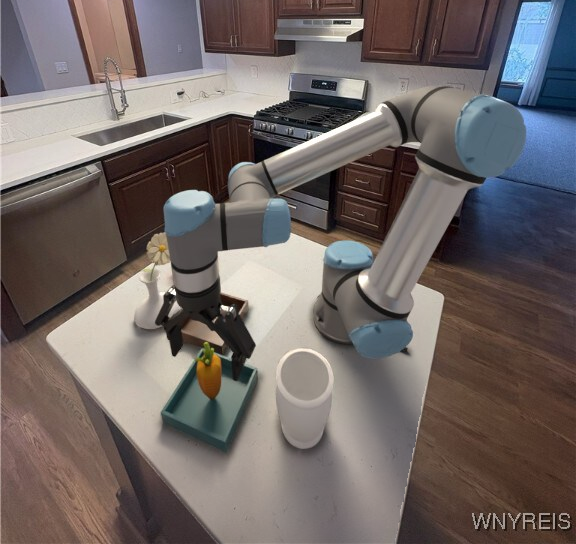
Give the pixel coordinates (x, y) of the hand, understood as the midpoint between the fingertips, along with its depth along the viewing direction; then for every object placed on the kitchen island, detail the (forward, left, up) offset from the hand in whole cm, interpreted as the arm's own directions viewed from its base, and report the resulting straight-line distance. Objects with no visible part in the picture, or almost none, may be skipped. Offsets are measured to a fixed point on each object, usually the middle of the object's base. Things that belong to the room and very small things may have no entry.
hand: (207, 361), depth 61 cm
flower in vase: (+25, -14, -12) cm, 31 cm away
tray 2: (0, 0, -12) cm, 12 cm away
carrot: (0, 0, -12) cm, 12 cm away
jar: (-19, -2, -12) cm, 23 cm away
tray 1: (+10, -16, -12) cm, 22 cm away
